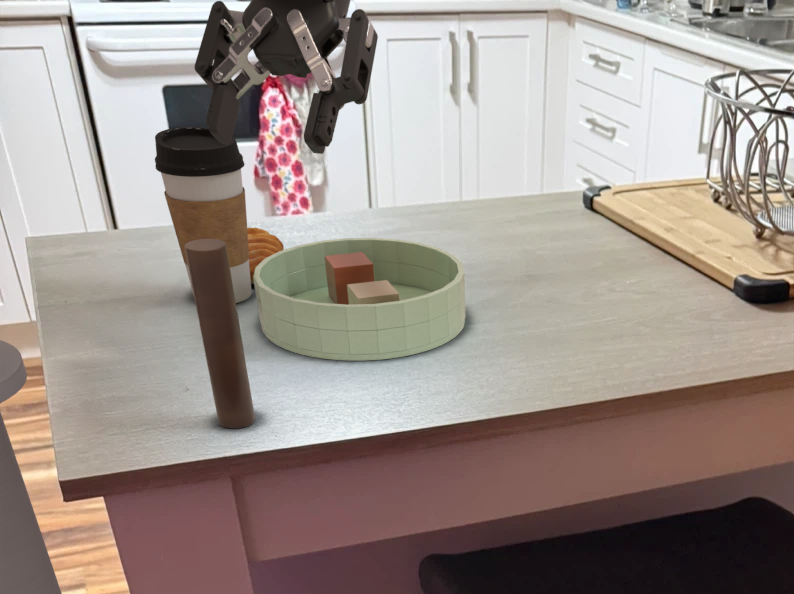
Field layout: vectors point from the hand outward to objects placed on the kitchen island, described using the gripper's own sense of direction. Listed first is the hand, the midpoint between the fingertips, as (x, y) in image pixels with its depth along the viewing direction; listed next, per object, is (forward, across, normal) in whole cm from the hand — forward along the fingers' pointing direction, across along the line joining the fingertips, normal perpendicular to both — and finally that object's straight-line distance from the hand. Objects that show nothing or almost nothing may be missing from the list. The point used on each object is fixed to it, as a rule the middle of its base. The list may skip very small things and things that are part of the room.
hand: (265, 143), depth 83 cm
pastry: (-1, -18, +29) cm, 34 cm away
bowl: (+4, 0, +23) cm, 23 cm away
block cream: (+6, +3, +20) cm, 21 cm away
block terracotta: (+2, -3, +25) cm, 25 cm away
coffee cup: (+4, -17, +23) cm, 29 cm away
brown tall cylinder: (+21, 0, +5) cm, 22 cm away
